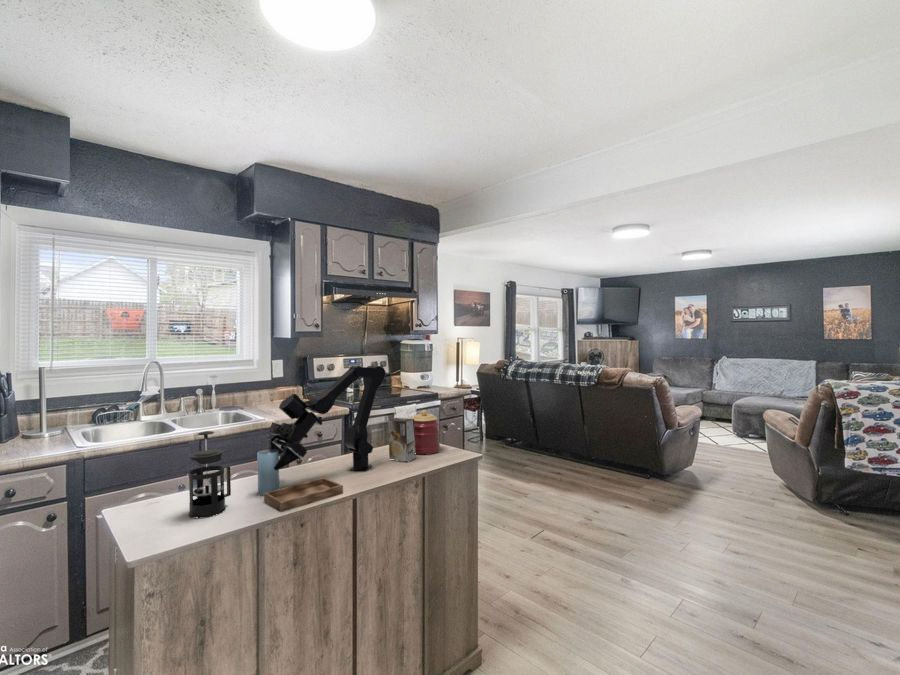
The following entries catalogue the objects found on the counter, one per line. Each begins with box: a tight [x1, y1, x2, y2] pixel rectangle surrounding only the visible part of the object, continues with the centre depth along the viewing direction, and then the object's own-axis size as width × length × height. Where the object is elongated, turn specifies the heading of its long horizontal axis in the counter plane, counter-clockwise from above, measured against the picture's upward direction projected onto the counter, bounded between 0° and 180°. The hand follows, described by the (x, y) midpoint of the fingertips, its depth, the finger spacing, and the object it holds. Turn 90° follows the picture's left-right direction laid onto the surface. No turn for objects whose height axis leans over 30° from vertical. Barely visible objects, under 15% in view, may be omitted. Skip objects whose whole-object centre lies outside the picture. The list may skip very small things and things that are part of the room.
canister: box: [410, 409, 441, 455], centre depth 191 cm, size 13×13×18 cm
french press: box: [187, 430, 232, 519], centre depth 129 cm, size 12×9×23 cm
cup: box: [256, 448, 281, 496], centre depth 144 cm, size 6×6×13 cm
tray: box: [263, 477, 344, 513], centre depth 139 cm, size 20×12×2 cm, turn 135°
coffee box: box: [387, 417, 416, 462], centre depth 179 cm, size 9×6×16 cm
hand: (269, 466), depth 144 cm, fingers open, 9 cm apart
